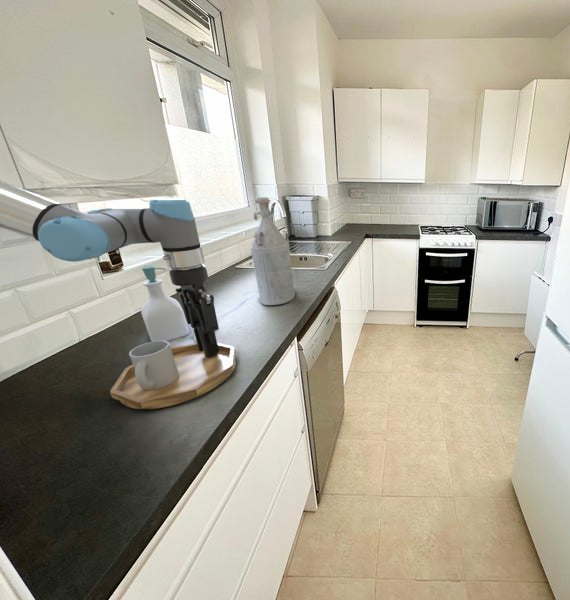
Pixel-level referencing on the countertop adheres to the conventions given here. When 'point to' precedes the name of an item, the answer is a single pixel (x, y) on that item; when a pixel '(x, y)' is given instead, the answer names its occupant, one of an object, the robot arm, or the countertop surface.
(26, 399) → the countertop surface
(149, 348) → the cup
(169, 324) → the soap bottle
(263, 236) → the grey jug bottle
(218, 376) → the tray
